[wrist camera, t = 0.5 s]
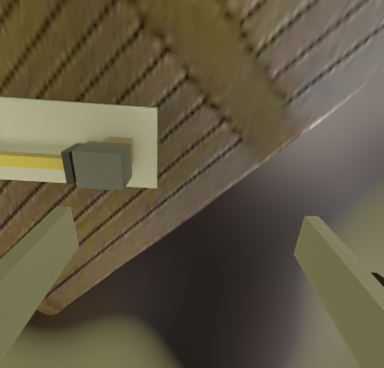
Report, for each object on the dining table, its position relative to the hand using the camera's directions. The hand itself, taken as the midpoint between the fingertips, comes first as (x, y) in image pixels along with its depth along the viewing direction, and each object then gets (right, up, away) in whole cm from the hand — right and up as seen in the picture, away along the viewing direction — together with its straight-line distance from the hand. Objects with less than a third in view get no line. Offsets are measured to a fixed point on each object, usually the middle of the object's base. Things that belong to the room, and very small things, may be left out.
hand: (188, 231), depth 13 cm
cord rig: (-27, +10, +26) cm, 38 cm away
